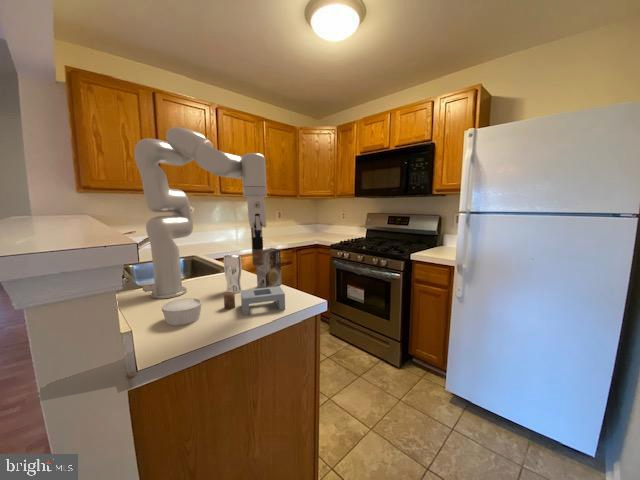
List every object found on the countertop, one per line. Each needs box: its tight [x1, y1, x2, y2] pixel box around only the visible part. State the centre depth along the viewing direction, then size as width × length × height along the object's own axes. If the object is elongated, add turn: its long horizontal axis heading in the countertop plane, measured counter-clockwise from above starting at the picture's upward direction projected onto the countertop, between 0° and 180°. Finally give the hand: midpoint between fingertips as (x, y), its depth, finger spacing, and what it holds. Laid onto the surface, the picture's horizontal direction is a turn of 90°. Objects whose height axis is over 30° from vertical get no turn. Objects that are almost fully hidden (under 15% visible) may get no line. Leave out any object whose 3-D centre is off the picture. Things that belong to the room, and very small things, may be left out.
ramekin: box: [161, 297, 203, 327], centre depth 85 cm, size 11×11×5 cm
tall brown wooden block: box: [250, 223, 264, 266], centre depth 90 cm, size 4×4×15 cm
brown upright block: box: [223, 292, 236, 310], centre depth 94 cm, size 4×4×5 cm
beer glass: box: [223, 253, 243, 294], centre depth 111 cm, size 7×7×15 cm
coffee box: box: [256, 247, 283, 288], centre depth 118 cm, size 9×6×16 cm
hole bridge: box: [240, 285, 286, 316], centre depth 94 cm, size 14×9×6 cm, turn 109°
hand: (257, 247), depth 90 cm, fingers closed on tall brown wooden block, 3 cm apart
